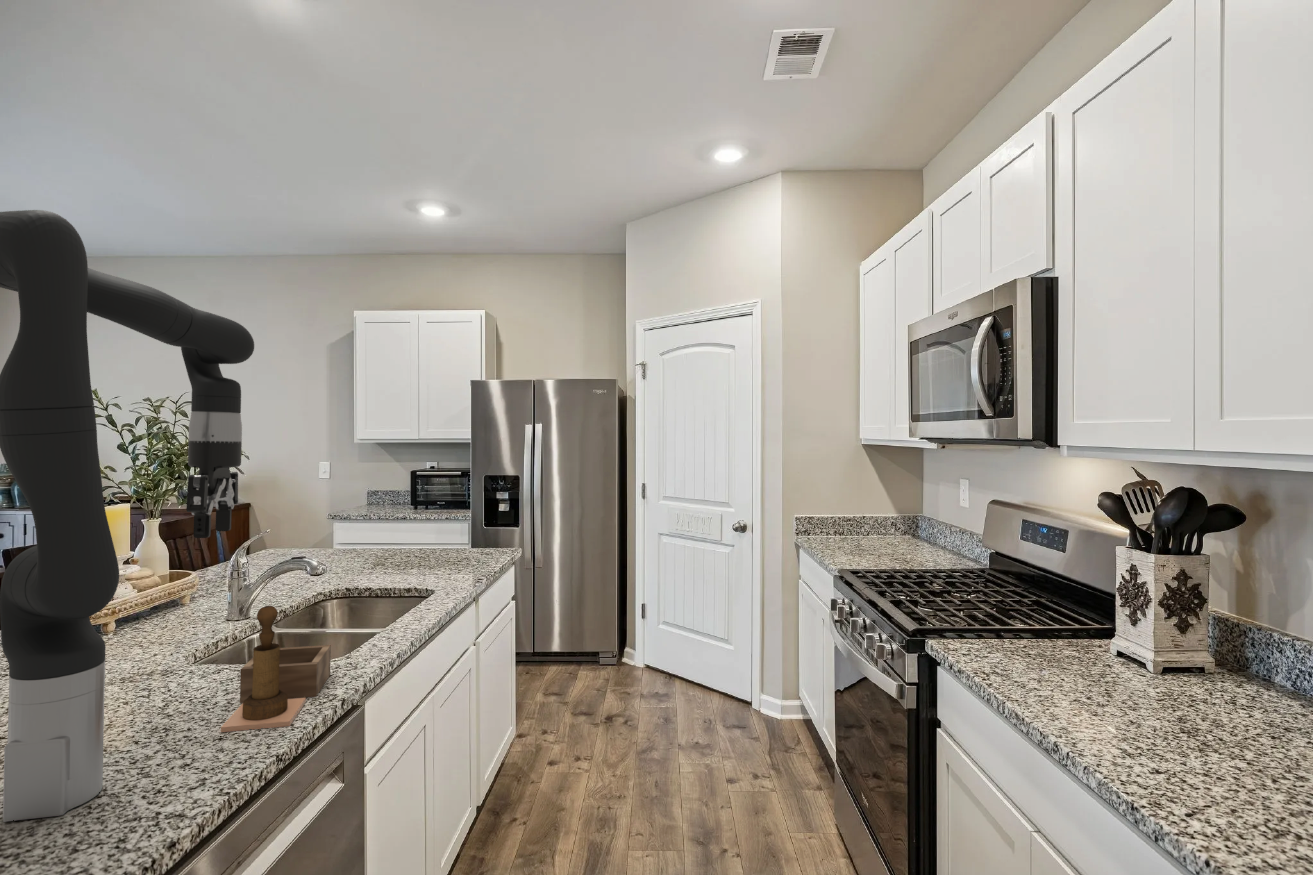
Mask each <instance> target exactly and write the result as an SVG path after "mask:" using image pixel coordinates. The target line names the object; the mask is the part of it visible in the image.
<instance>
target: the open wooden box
mask: <svg viewBox="0 0 1313 875" xmlns="http://www.w3.org/2000/svg"><path fill="white" fill-rule="evenodd" d="M331 647H332V644H325V645H323V644H322V645H321V644H320V645H309V646H308V645H307V646H306V645H305V646H291V647H280V659H279V690H281V691H283V692H284V693H286V694H287V696H288V699H296V698H315V697H317V696H318V694H319V693H320V691H321V690H322V688H323V687H324V685H325V683H326V682H327V681H328V679H329V677H330V676H331V663H332V662H331V657H332V656H331V653H332V651H331ZM239 682H240V683H239V684H240V685H239V686H240V688H239V703H241V704H242V703H243V702H244V700H245V699H247V698H248V697H249V696H250V695H251V694H252V685H253V657H252V658H251V659H250V660H249V661H247V662H246V663H245V664H244V665H243V666H242V667H241V668H240V680H239Z"/></svg>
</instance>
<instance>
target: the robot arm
mask: <svg viewBox="0 0 1313 875" xmlns="http://www.w3.org/2000/svg"><path fill="white" fill-rule="evenodd" d="M87 256H88V255H87V252H86V247H85V245H84V241H83V240H82V238H81V236H80V234H79V232H78V231H77V229H76V228H75V226H74V225H72V223H70V221H68V220H67V219H66V218H64V217H63V216H61V215H59V214H57V213H55V212H53V211H48V210H43V209H25V210H7V211H0V288H1V289H5V290H8V291H9V290H10V291H13V292H16V293H17V294H18V305H19V326H18V327H19V328H18V333H17V336H16V340H15V341H14V344H13V346H12V348H11V351H10V353H9V354H8V357H7V358H6V361H5V363H4V364H3V367H2V368H1V371H0V452H1V454H2V457H3V459H4V462H5V464H6V465H7V468H8V470H9V472H10V474H11V475H12V477H13V478H14V481H15V482H16V484H17V486H18V487H19V489H20V490H21V493H22V494H23V496H24V498H25V500H26V501H27V503H28V507H29V509H30V511H31V515H32V518H33V522H34V528H35V536H36V537H35V538H36V539H35V540H36V545H34V546H32V547H29V548H27V549H25V550H24V551H22V552H20V553H19V554H18V555H16V556H15V557H14V558H13V559H12V560H11V561H10V563H9V564H8V565H7V567H6V569H5V570H4V574H3V576H2V579H1V585H0V641H1V647H2V648H1V649H2V651H3V654H4V657H5V658H6V661H7V662H8V663H7V664H8V677H9V678H8V705H7V706H8V708H7V709H8V712H7V715H8V716H7V743H6V744H5V746H4V748H3V750H4V754H3V762H4V763H3V791H2V792H3V795H2V796H3V799H2V800H3V802H2V805H3V806H2V822H3V823H5V822H6V823H7V822H15V821H23V820H32V819H39V818H40V819H41V818H48V817H57V816H59V817H60V816H63V815H65V813H67V812H69V811H70V810H72V809H74V808H77V807H78V806H81V805H83V804H85V803H87V802H89V801H90V800H92V799H94V797H96V796H98V795H99V794H100V793H101V792H102V790H103V787H104V786H103V782H104V777H103V776H104V739H105V738H104V735H105V734H104V732H105V726H104V725H105V688H106V687H105V686H106V685H105V682H106V642H105V640H104V638H103V637H102V636H101V635H100V634H99V633H98V632H97V630H95V628H94V626H93V624H92V621H91V618H90V617H92V616H94V615H96V614H98V613H99V612H100V611H102V610H103V609H104V608H106V606H107V605H109V603H110V602H111V601H112V599H113V598H114V596H115V594H116V592H117V591H118V590H117V589H118V585H119V582H120V568H119V561H118V556H117V554H116V548H115V546H114V540H113V537H112V534H111V530H110V524H109V521H108V516H107V513H106V507H105V502H104V493H103V492H104V490H103V480H102V471H101V465H100V464H101V463H100V456H99V454H100V453H99V448H98V428H97V427H98V426H97V419H96V410H95V402H94V397H93V396H94V395H93V391H92V385H91V373H90V359H89V358H90V357H89V356H90V355H89V343H88V330H87V329H88V327H87V326H88V324H87V323H88V322H87V321H88V320H87V318H88V316H87V315H88V314H91V315H94V316H98V317H99V318H102V319H105V320H109V321H110V322H113V323H116V324H118V325H120V326H123V327H126V328H128V329H130V330H133V331H136V332H137V333H140V334H142V335H144V336H147V337H149V338H151V339H153V340H156V341H159V342H161V343H163V344H166V345H168V346H169V345H170V346H173V347H179V348H180V351H181V356H182V359H183V363H184V366H185V369H186V373H187V376H188V380H189V382H190V386H191V404H190V405H191V406H190V408H191V412H190V418H189V423H188V444H187V445H188V446H187V449H188V450H187V466H189V467H190V468H198V469H199V470H198V474H189V475H188V477H187V490H186V491H187V492H186V493H187V495H186V512H187V513H191V515H192V516H193V537H194V538H195V539H207V538H210V537H211V534H212V533H211V530H212V529H211V527H212V515H211V514H212V512H213V508H214V507H215V509H216V510H215V531H217V532H229V531H231V530H232V510H234V507H235V505H238V504H239V473H238V471H231V470H230V468H238V467H239V468H240V466H241V465H242V448H243V446H242V444H243V443H242V442H243V441H242V440H243V424H242V414H241V412H242V411H241V410H242V387H241V384H240V383H239V382H238V381H237V380H234V379H232V378H228V377H224V376H223V372H222V371H221V367H220V365H236V364H241V363H244V362H245V361H248V360H249V359H250V358H251V357H252V355H253V354H254V352H255V341H254V338H253V335H252V334H251V333H250V332H249V330H248V329H247V328H246V327H244V325H242V324H241V323H239V322H237V321H235V320H232V319H231V318H228V317H224V316H221V315H218V314H215V313H211V312H209V311H205V310H202V309H201V310H200V309H199V308H195V307H192V306H191V305H189V304H187V303H186V302H183V301H182V300H180V299H177V298H176V297H174V296H172V295H170V294H168V293H166V292H164V291H162V290H159V289H156V288H155V287H152V286H149V285H146V284H143V283H139V282H136V281H133V280H130V279H127V278H126V279H125V278H122V277H118V276H117V275H112V274H109V273H105V272H101V271H98V270H95V269H92V268H89V267H88V257H87ZM214 505H215V506H214ZM99 792H100V793H99ZM13 820H14V821H13Z"/></svg>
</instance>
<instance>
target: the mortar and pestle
mask: <svg viewBox="0 0 1313 875" xmlns="http://www.w3.org/2000/svg"><path fill="white" fill-rule="evenodd" d="M277 618H278V609H277V608H276V607H275V606H273V605H265V606H262V607H261V608H259V610H258V611H257V613H256V619H257V622H259V624H260V626H261V632H259V634H258V637H259V641H260V644H259V645H257V646H255V647H253V652H252V654H253V656H252V658H253V685H252V694H251V695H250V696H249V697H248V698H247V699H245V700H244V702H243V712H242V716H243V718H245V719H249V720H262V719H268V718H272V717H275V716H278V715H280V714H282V713H284V712H285V711H286V710H287V707H288V696H287V694H286V693H284V692H283V691H281V690H279V659H280V648H281V645H280V644H279V643H274V642H273V641H274V638H275V633H276V632H275V631H273V629H272V628H273V625H274V622H276V619H277Z"/></svg>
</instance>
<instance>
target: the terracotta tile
mask: <svg viewBox="0 0 1313 875" xmlns="http://www.w3.org/2000/svg"><path fill="white" fill-rule="evenodd" d="M306 701H307V697H305V698H293V699H288V707H287V710H286V711H285V712H284V713H282V714H280V715H278V716H275V717H272V718H268V719H262V720H249V719H245V718H243V716H242V712H243V703H241V704H240V705H239V706H238V708H237V709H236V710H235V711H234V712H233V713H232V714H231V715H230V717H229V718H228V719H227V720H226V721H225V722H224V723H223V724H222V726H221V727H220V733H227V732H228V733H229V732H239V731H249V729H252V730H261V728H263V729H275V728H283V727H291V725H292V723H293V722H294V721H295V719H296V718H297V716H298V715H299V713H300V712H301V710H302V708H303V707H304V706H305V704H306Z"/></svg>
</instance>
